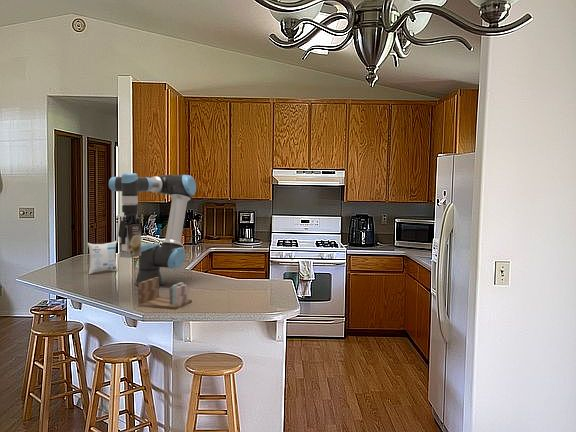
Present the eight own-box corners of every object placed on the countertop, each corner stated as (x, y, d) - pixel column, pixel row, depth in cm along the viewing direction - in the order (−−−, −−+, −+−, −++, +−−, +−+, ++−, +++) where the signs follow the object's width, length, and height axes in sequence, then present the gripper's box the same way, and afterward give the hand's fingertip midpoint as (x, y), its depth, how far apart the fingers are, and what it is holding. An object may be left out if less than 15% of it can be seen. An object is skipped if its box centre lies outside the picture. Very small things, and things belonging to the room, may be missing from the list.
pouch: (120, 272, 351) (119, 241, 349) (89, 275, 339) (89, 243, 337) (115, 270, 357) (115, 240, 355) (85, 273, 345) (85, 242, 344)
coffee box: (129, 258, 268) (129, 225, 267) (119, 257, 271) (118, 224, 270) (141, 255, 277) (141, 223, 276) (131, 254, 279) (130, 223, 278)
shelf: (156, 298, 278) (156, 277, 277) (191, 302, 272) (191, 279, 271) (138, 306, 263) (138, 282, 262) (175, 309, 257) (175, 285, 256)
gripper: (136, 203, 283) (136, 246, 285) (109, 205, 263) (110, 252, 264) (148, 203, 281) (149, 247, 283) (123, 205, 260) (123, 252, 262)
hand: (130, 249), depth 274 cm, fingers closed on coffee box, 9 cm apart
